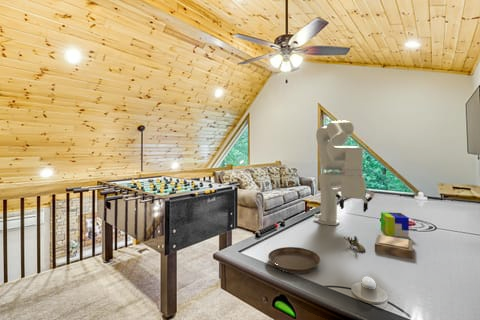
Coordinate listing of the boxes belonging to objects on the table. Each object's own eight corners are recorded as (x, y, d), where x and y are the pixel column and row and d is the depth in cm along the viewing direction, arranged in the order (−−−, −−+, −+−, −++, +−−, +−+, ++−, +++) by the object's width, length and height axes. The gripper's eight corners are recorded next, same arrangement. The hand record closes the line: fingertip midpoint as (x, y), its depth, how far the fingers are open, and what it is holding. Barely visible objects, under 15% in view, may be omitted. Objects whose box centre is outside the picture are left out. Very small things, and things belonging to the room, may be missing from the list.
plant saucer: (257, 264, 101) (257, 256, 100) (287, 249, 115) (287, 242, 115) (302, 284, 86) (302, 274, 86) (329, 264, 100) (329, 256, 100)
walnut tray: (374, 251, 111) (374, 242, 111) (377, 241, 123) (378, 233, 123) (412, 259, 103) (412, 249, 103) (412, 247, 115) (412, 239, 115)
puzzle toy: (408, 236, 129) (408, 217, 129) (387, 235, 131) (387, 217, 131) (400, 230, 139) (400, 212, 138) (380, 229, 141) (381, 212, 140)
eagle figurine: (340, 244, 117) (352, 248, 108) (346, 230, 119) (358, 233, 110) (353, 252, 118) (366, 256, 109) (358, 238, 119) (372, 241, 111)
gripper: (332, 173, 116) (331, 209, 116) (373, 174, 106) (373, 214, 106) (336, 171, 122) (335, 206, 122) (375, 173, 112) (375, 210, 113)
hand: (353, 209), depth 114 cm, fingers open, 9 cm apart
